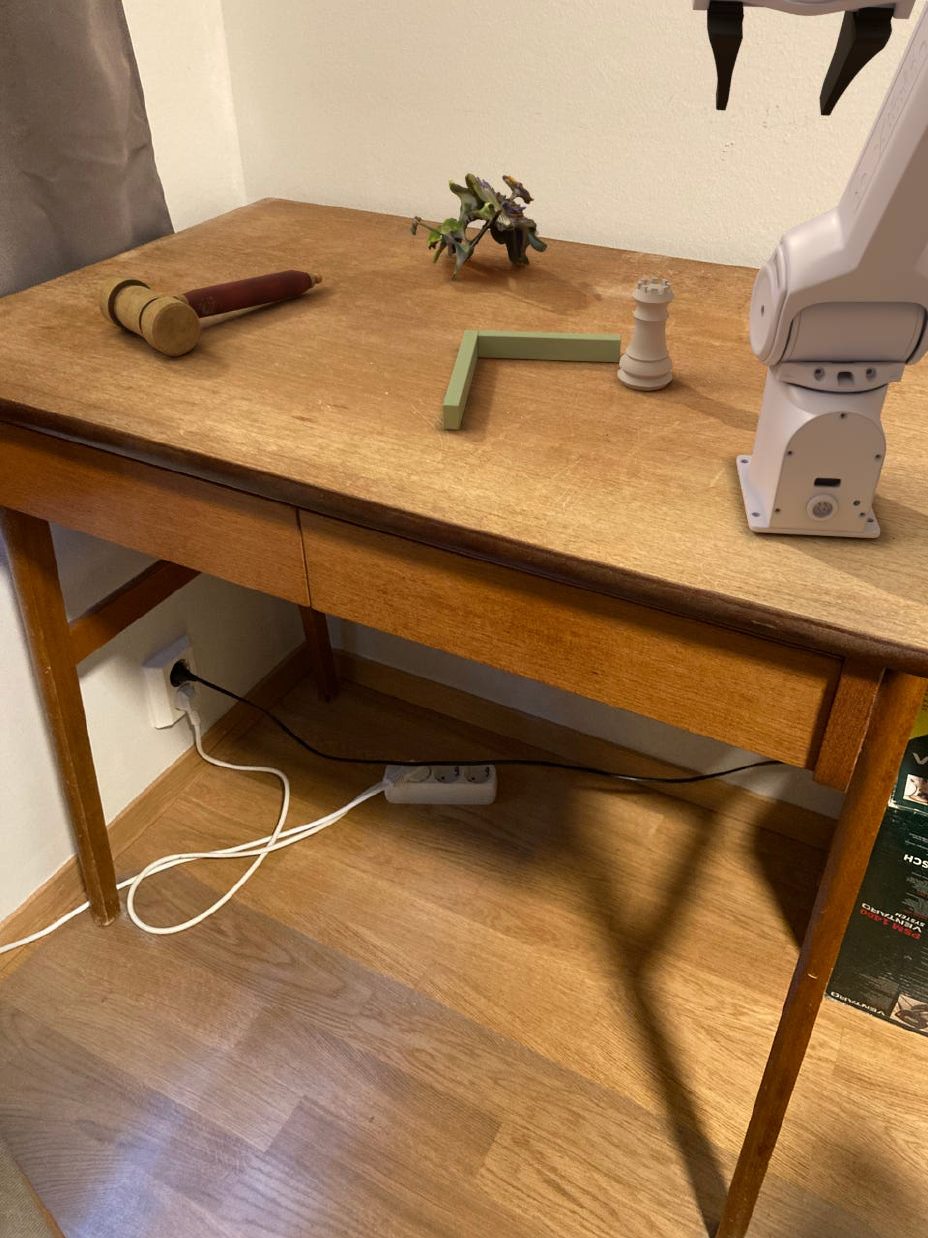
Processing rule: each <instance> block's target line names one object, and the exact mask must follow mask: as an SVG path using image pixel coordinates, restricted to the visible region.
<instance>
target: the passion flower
mask: <svg viewBox="0 0 928 1238" xmlns="http://www.w3.org/2000/svg"><path fill="white" fill-rule="evenodd" d="M501 177H502V181H503V182H504V183H505V184H506V185H507V187H508V188H510V190H511V192H512V193H511V194H510V196H509V197H507V194H504V195H502V193H501V192H500V191H497V192H496V191H495V188H494V187H493V186H491V184H490V183H489V182H488V181H486V180H485V178H484V179H482V180H481V178H480V177H479V176H475V174H473V173H471V172H470V173H468V172H467V173H466V175H465V177H464V181H465V185H466V187H464V186H462V185H460V184H457V183H455V182H454V181H453V179H452V178H449V180H448V187H449V190H450V191H451V192H452V193H453V194H454V195H455V196H457V198H459V200H460V207H459V216H458V219H456V218H454V217H449V218H446V219H445V220H444V221H443V222H442V223H441V224H440V225H436V226H435V227H432V226H429V225H427V224H425V223H423V222H421V221H422V217H420V216H418V215H415V216H414V217H413V221H412V224H411V228H410V233H411V234H412V235H413V236H416V235H417V229H418V226H422V227H423V228H425V229H428V230H429V231H430V233H429V234H428V239H427V248H428V250H429V251H431V250H432V249H434V250H435V252H434V254H433V256H432V258H433V264H436V263H437V261H438V259H439V257H440V255H441V254H442V253H443V251H444V249H446V248H447V249H446V250H447V256H448V257H453V255H454V256H455V268H454V272H453V274H452V276H451V278H450V280H451V281H454V279H455V278H456V276H457V275H458V273H459V271H460V269H461V268H462V266H463V265H466V263H467V262H468V261H469V260H470V259H471V257H472V256H473V254H474V253H475V247H476V246H477V245H478V244H479V242H480V240H481V239H482V238H483V237H484V235H485V233H486V232H487V231H489V232H490V235H491V238H492V239H493V240H494V241H495V242H496V243H497V244H498V245H500V246H501V245H502V246H503V245H505V247H506V251H507V257H508V260H509V262H511V263H512V264H513V265H514V266H518V267H521V266H523V265H526V266H530V260H529V257H528V256H527V249H528V247H529V246H530V247H531V248H532V249H533V250H535V251H536V252H539V253H544V252H545V251H546V250H547V248H548V244H546V243H545V242H544V241H542V240H541V239H540V238H539V237H538V236H539V234H540V232H539V231H538V229H537V226H538V224H537V222H535V220H534V219H533V218H532V219H531V218H528V217H527V216H525V214H524V212H523V211H524V210H526V209H527V206H521V203H517V202H516V201H515V199H517V198H520V199H522V200H523V203H524V204H526V205H530V204H531V202H534V201H535V198H533V197H532V196H531V194H530V192H529V191H528V189H526V188H524V184H523V183H522V182H520V181H516V180H515V178H514V177H513V176H512V175H510V174H509V175H506V174H504V175H501ZM475 221H485V223H484V224H483V225H482V226H481V230H480V231H479V232H478V233H477V235H476V236H475V237H474V238H473V239H472V240H471V239H468V238H467V235H466V231H467V228H468V226H469V224H471V223H472V222H475ZM439 242H440V243H439ZM463 242H464V244H462V243H463ZM437 244H439V246H438V249H437Z"/></svg>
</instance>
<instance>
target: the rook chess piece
mask: <svg viewBox="0 0 928 1238" xmlns="http://www.w3.org/2000/svg"><path fill="white" fill-rule="evenodd" d="M648 280H649V279H648V278H646V277H644V278H641V279H640V280H638V281H637V287H636V289H634V290H633V291H632V294H631V295H632V298H633V300H634V301H635V303H636V309H635V310H634V311H633V312H632V316H633V317H634V318H635V319H634V327H633V331H632V335H631V339H630V342H629V344H628V346H627V347H626V348H625V353H624V354H623V355H621V356H620V359H619V362H618V363H619V364H618V366H619V367H620V369H618V370H617V377H618V379H619V381H620V382H621V384H623V385H624V386H625V387H627V388H629V389H631V390H632V389H633V390H637V391H647V392H649V391H658V390H661V389H663V388H665V387H666V386H667V385H668V384H669V383H670V382H672V380H673V373H672V372H671V371H672V370H673V368H674V366H673V365H674V363H673V359H672V358H671V357H670V356H669V355H670V351H669V350H668V349H667V348H668V347H667V343H666V325H667V320H668V319H669V318H670V313H669V311H668V307H669V305H670V304H671V303H672V302H673V300H674V299H675V298H676V297H675V293H674V292H673V290H672V282H669V280H668V279H666V278H662V279H661V283H658V282H659V281H658V280H659V277H656V276H655V277H654V276H651V278H650V282H649V283H648Z"/></svg>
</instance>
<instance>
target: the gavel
mask: <svg viewBox="0 0 928 1238" xmlns="http://www.w3.org/2000/svg"><path fill="white" fill-rule="evenodd" d="M322 282H323V275H322V274H321V273H318V272H316V273H312V272H310V271H303V270H302V271H301V270H296V269H288V270H284V271H279V272H274V273H273V272H272V273H269V274H263V275H259V276H254V277H248V278H244V279H239V280H233V281H229V282H224V283H220V284H215V285H209V286H205V287H200V288H195V289H191V290H189V291H186V292H184V293H181V294H177V295H173V296H163V295H162V294H160V293H157V292H156V291H153V290H151V288H150V286H149V285H147V284H146V283H145V282H144V281H142V280H140V279H137V278H136V277H134V276H131V275H129V274H125V273H123V274H116V275H113V276H111V277H109V278H108V279H107V280H106V281H105V282H104V283H103V284H102V286H101V288H100V290H99V293H98V299H97V300H98V307H99V311H100V312H101V315H102V317H103V318H104V319H105V320H106V321H108V322H109V323H111V324H112V325H113V326H115V327H117V328H119V329H121V330H124V331H126V332H127V331H128V332H133V333H135V334H137V335H139V336H140V337H142V338H144V339H145V341H146V342H147V344H148V345H150V346H151V347H152V348H154V349H156V350H157V351H159V352H161V353H163V354H165V355H166V356H170V357H178V356H182V355H185V354H187V353H188V352H190V351H191V350H192V349H193V348H194V346H196V344H197V342H198V340H199V337H200V334H201V321H200V319H204V318H210V317H214V316H219V315H222V314H227V313H231V312H236V311H240V310H245V309H250V308H254V307H259V306H263V305H267V304H272V303H276V302H281V301H285V300H289V299H294V298H295V299H296V298H298V297H299V298H300V296H302V295H303V294H305V293H306V292H307V291H309V290H311V289H313V288H314V287H315V286H316V285H319V284H321V283H322Z"/></svg>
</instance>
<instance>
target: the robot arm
mask: <svg viewBox="0 0 928 1238" xmlns="http://www.w3.org/2000/svg"><path fill="white" fill-rule="evenodd" d="M916 1H917V0H692V2H691V3H692V10H693V11H706V30H707V36H708V40H709V43H710V47H711V50H712V54H713V59H714V64H715V69H716V78H717V80H716V82H717V83H716V89H715V90H716V91H715V110H716V111H726V110H727V107H728V104H729V98H730V92H731V85H732V78H733V73H734V70H735V65H736V62H737V58H738V54H739V52H740V48H741V45H742V42H743V39H744V28H743V27H744V26H743V25H744V24H743V23H744V18H745V13H744V12H745V11H744V8H745V7H746V8H748V7H749V8H766V9H771V10H773V11H778V12H782V13H785V14H790V15H795V16H800V17H803V16H804V17H816V16H823V15H830V14H835V13H841V12H844V13H843V18H842V21H841V25H840V29H839V34H838V37H837V42H836V46H835V49H834V52H833V55H832V57H831V61H830V63H829V67H828V69H827V71H826V73H825V74H826V75H825V77H824V79H823V82H822V86H821V90H820V94H819V99H818V100H819V109H820V111H819V112H820V116H823V117H824V116H826V117H827V116H828V117H829V116H831V115H832V113H833V111H834V109H835V107H836V105H837V104H838V102H839V100H840V98H842V96H843V94H844V92H846V90H847V88H848V87H849V86H850V84H851V83H852V81H853V80H854V79H855V78H856V77H857V75H858V74H859V73H860V71H861V70H862V69H863V68H864V67H866V66H867V64H868V63H869V62H870V61H871V60H873V58H874V57H875V56H877V55H878V54H879V53H880V52H881V51H882V50H884V49H885V47H886V46H887V44H888V43H889V41H890V38H891V36H892V33H893V26H892V19H893V18H894V19H896V20H909V19H910V17H911V14H912V13H913V12H912V11H913V8H914V6H915V3H916ZM748 320H749V321H748V329H749V331H748V332H749V333H748V334H749V343H750V347H751V350H752V353H753V354H754V356H755V357H756V358H757V360H758V361H759V363H760V364H761V365H763V366H765V367H768V368H767V373H766V378H765V384H764V389H763V393H762V400H761V404H760V405H761V406H760V409H759V410H760V411H759V416H758V421H757V426H756V432H755V438H754V443H753V448H752V454H739V455H738V456H736V458H735V459H736V460H735V464H736V469H737V473H738V479H739V480H738V481H739V483H740V485H739V486H740V488H741V494H742V499H743V505H744V509H745V514H746V518H747V524H748V528H749V529H750V530H751V532H755V533H768V534H769V533H770V534H786V535H803V536H805V535H806V536H824V537H825V536H826V537H828V536H829V537H843V538H844V537H845V538H864V539H865V538H866V539H876V538H879V537H880V534H881V527H880V525H879V523H878V520H877V518H876V515H875V512H874V510H873V507H872V506H873V502H874V498H875V494H876V491H877V489H878V488H877V487H878V484H879V480H880V478H881V477H880V476H881V473H882V470H883V466H884V463H885V460H886V459H885V458H886V454H887V439H886V433H885V431H884V428H883V427H884V426H883V424H882V418H881V417H882V412H883V408H884V404H885V401H886V397H887V393H888V390H889V386H890V384H891V383H900V382H902V378H903V375H904V371H905V368H906V367H911V366H913V365H916V364H917V363H919V362H920V361H921V359H923V358H924V356H925V355H926V354H927V352H928V0H925V3H924V5H923V7H922V9H921V12H920V14H919V16H918V19H917V22H916V23H915V25H914V28H913V30H912V32H911V34H910V37H909V40H908V42H907V45H906V47H905V49H904V51H903V53H902V56H901V58H900V60H899V62H898V65H897V68H896V70H895V72H894V74H893V77H892V79H891V82H890V84H889V85H888V88H887V91H886V93H885V95H884V97H883V100H882V102H881V104H880V107H879V108H878V112H877V114H876V115H875V119H874V120H873V123H872V125H871V128H870V129H869V132H868V135H867V137H866V139H865V141H864V143H863V145H862V148H861V150H860V152H859V155H858V158H857V160H856V162H855V165H854V167H853V169H852V171H851V174H850V175H849V178H848V181H847V183H846V185H845V188H844V190H843V192H842V195H841V196H840V199H839V201H838V204H837V205H836V206H835V207H834V208H832V209H830V210H828V211H826V212H823V213H822V214H819V215H817V216H816V217H812V218H811V219H809V220H806V221H804V222H802V223H800V224H798V225H795V226H794V227H792V228H790V229H789V230H787V231H785V232H784V233H783V234H781V237H780V240H779V242H778V244H777V245H776V246H775V248H774V250H773V252H772V255H771V256H770V257H769V258H768V259H767V260H766V261H765V263H764V264H763V265H762V266H761V267H760V268H759V270H758V273H757V274H756V277H755V279H754V284H753V286H752V292H751V297H750V306H749V318H748Z"/></svg>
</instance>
